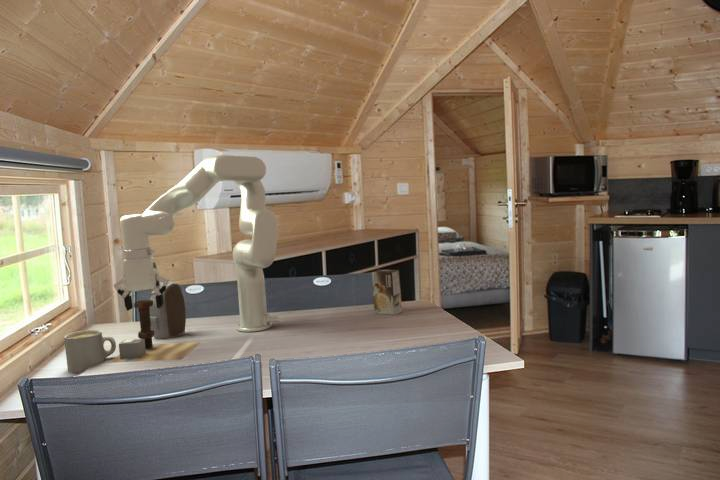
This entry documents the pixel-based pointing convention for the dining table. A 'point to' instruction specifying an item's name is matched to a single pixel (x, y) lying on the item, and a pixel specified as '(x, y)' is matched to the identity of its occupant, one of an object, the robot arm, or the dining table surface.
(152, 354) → the yellow striped flat sheet
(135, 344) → the grey block
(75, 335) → the coffee mug
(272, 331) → the dining table surface
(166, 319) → the small grey backpack
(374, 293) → the coffee box
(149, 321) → the bolt
